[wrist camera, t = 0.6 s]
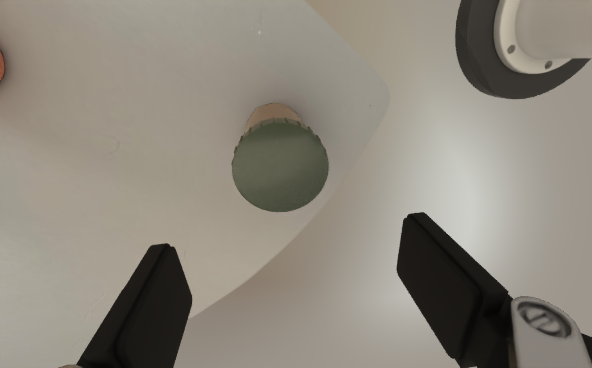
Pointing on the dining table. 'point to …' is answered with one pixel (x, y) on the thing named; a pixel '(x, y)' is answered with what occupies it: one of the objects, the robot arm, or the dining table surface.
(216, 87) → the dining table surface
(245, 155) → the lid
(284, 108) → the jar
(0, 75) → the pottery
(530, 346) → the robot arm
